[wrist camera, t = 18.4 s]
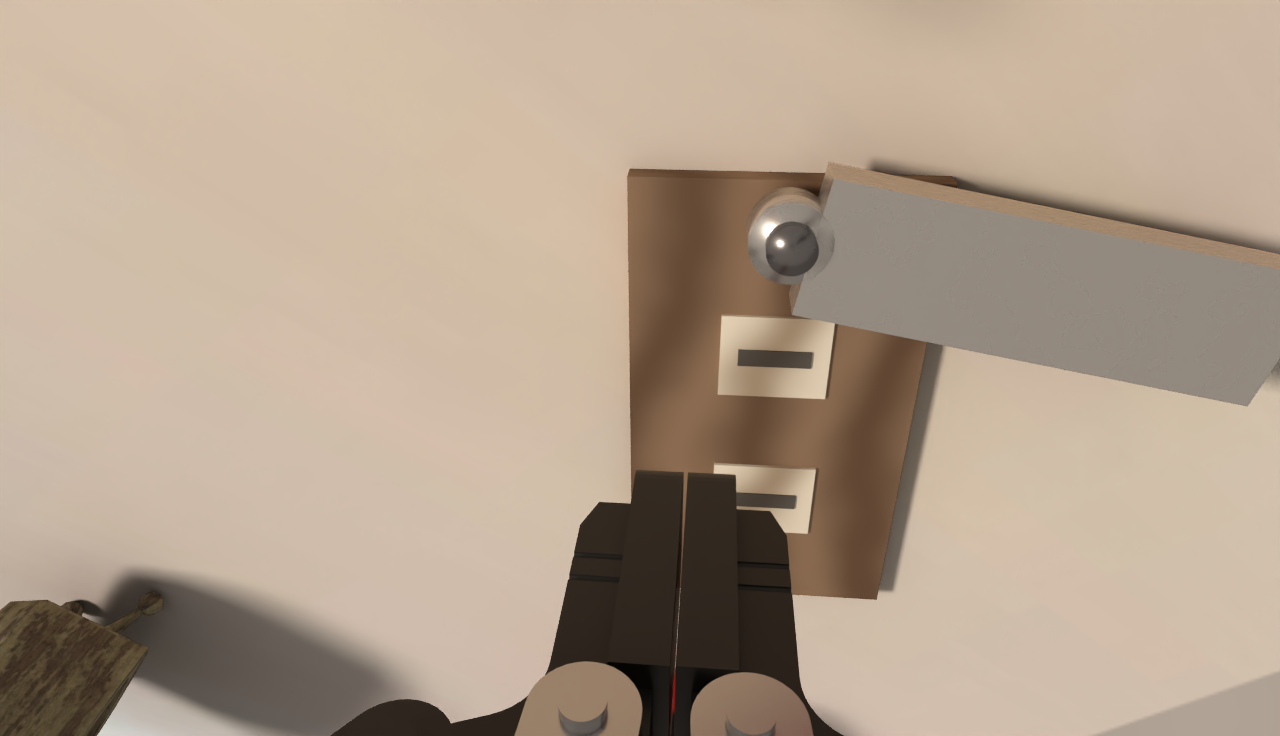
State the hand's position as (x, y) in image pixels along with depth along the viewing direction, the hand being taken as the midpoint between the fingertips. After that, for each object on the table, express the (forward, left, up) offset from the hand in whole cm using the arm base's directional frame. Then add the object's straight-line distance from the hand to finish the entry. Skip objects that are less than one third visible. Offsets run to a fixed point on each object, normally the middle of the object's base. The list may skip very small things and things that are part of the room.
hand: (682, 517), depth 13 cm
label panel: (-4, +19, -32) cm, 37 cm away
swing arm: (-15, +9, -30) cm, 34 cm away
